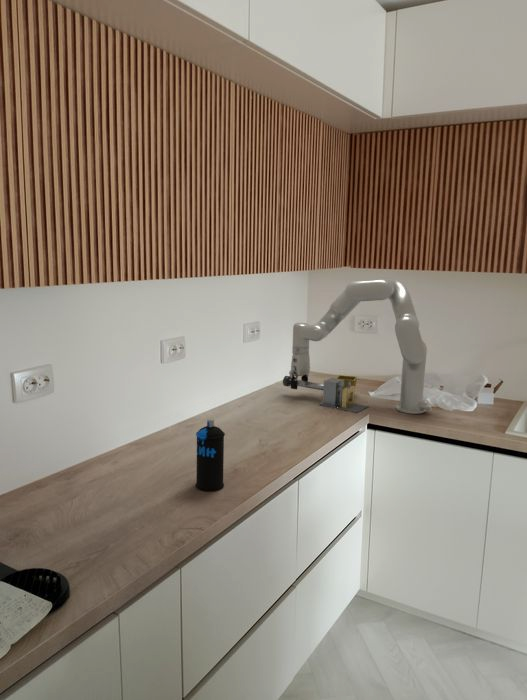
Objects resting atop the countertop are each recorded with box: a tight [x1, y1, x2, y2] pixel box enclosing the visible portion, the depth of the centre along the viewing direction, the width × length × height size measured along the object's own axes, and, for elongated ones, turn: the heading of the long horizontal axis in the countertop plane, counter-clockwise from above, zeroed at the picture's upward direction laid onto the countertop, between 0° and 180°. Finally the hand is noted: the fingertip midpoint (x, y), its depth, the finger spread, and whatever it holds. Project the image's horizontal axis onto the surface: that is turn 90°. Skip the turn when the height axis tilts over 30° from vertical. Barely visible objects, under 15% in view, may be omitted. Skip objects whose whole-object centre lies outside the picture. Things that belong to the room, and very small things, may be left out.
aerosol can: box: [195, 418, 226, 492], centre depth 169 cm, size 8×8×20 cm
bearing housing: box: [318, 377, 344, 409], centre depth 261 cm, size 8×11×11 cm
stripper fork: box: [340, 382, 351, 408], centre depth 258 cm, size 1×9×10 cm, turn 147°
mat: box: [335, 403, 370, 414], centre depth 257 cm, size 10×12×1 cm
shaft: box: [282, 375, 341, 393], centre depth 267 cm, size 28×5×5 cm, turn 57°
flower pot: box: [336, 374, 358, 388], centre depth 277 cm, size 9×9×9 cm
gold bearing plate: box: [342, 386, 356, 409], centre depth 258 cm, size 2×8×8 cm, turn 147°
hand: (299, 386), depth 271 cm, fingers open, 9 cm apart
